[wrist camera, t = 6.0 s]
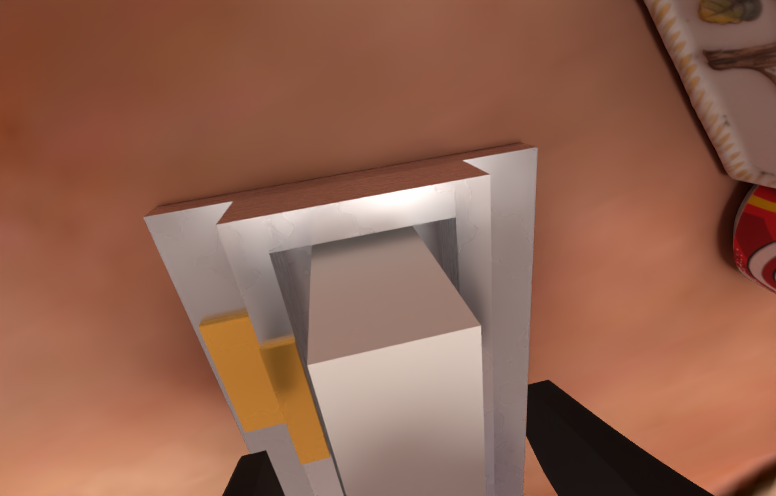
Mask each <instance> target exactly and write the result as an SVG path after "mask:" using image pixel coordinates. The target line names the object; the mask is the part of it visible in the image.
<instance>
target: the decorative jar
mask: <svg viewBox="0 0 776 496" xmlns="http://www.w3.org/2000/svg"><path fill="white" fill-rule="evenodd" d="M644 2H645V4H646V6H647V8H648V10H649V12H650V15H651V17H652V19H653V21H654V23H655V25H656V28H657V30H658V32H659V34H660V36H661V38H662V40H663V43H664V45H665V47H666V49H667V51H668V53H669V55H670V57H671V59H672V61H673V63H674V65H675V68H676V69H677V71H678V73H679V75H680V78H681V80H682V82H683V85H684V87H685V89H686V91H687V93H688V95H689V97H690V101H691V104H692V107H693V108H694V109H695V111H696V113H697V116H698V118H699V119H700V121H701V123H702V124H703V127H704V129H705V131H706V132H707V135H708V137H709V139H710V140H711V142H712V144H713V146H714V148H715V150H716V152H717V154H718V156H719V158H720V160H721V162H722V164H723V167H724V169H725V171H726V172H727V173H728V175H729V176H730V177H731V178H732V179H734V180H740V181H745V182H749V183H754V184H759V185H762V186H766V187H771V188H776V0H644Z"/></svg>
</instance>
